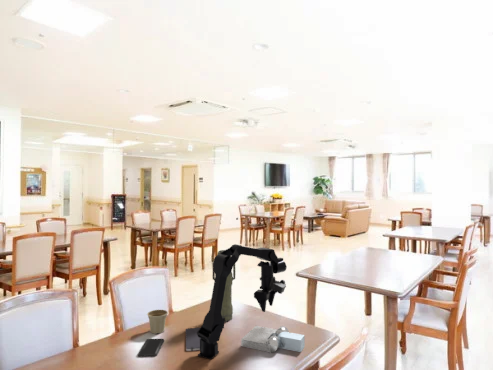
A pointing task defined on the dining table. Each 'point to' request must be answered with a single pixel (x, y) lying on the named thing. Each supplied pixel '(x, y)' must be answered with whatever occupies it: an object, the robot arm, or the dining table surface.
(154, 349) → the phone
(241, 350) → the dining table surface
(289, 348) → the blue-grey hinge leaf
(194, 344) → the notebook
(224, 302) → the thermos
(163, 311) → the flower pot
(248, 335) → the steel hinge leaf
